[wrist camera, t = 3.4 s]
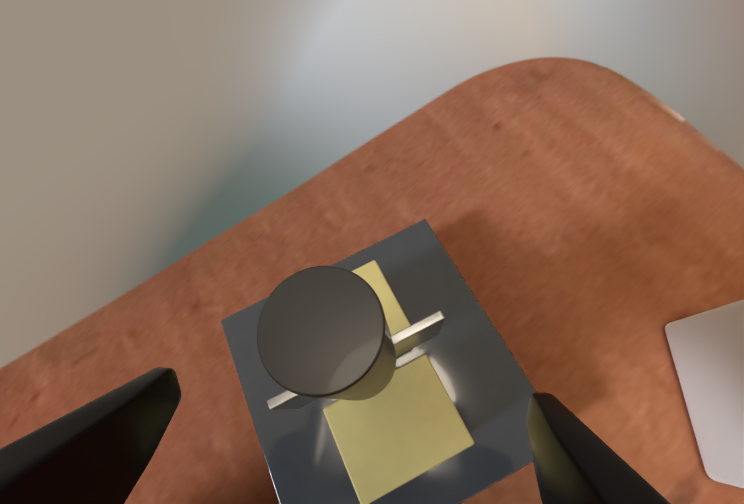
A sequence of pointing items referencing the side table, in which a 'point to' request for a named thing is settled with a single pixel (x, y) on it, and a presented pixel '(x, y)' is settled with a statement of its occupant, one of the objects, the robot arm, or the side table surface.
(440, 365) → the butter dish
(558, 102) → the side table surface
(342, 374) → the knife
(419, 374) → the butter
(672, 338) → the white canister
